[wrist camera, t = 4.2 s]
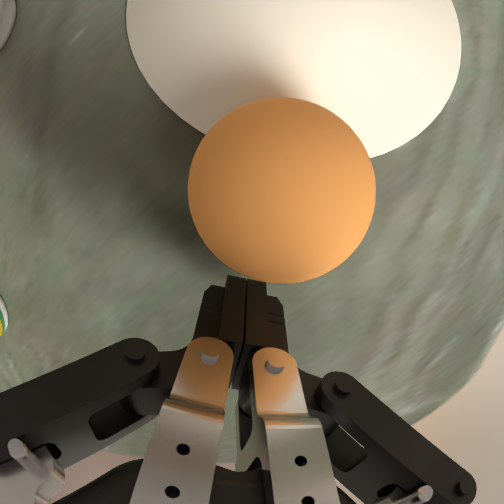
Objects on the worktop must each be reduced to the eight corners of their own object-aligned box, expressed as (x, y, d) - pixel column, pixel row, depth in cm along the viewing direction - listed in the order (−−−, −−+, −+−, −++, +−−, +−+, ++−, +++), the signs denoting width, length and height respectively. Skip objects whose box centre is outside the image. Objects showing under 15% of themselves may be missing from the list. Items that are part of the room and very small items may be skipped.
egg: (144, 232, 5) (231, 34, 6) (171, 262, 10) (214, 133, 11) (403, 305, 6) (414, 111, 7) (311, 301, 11) (336, 175, 12)
